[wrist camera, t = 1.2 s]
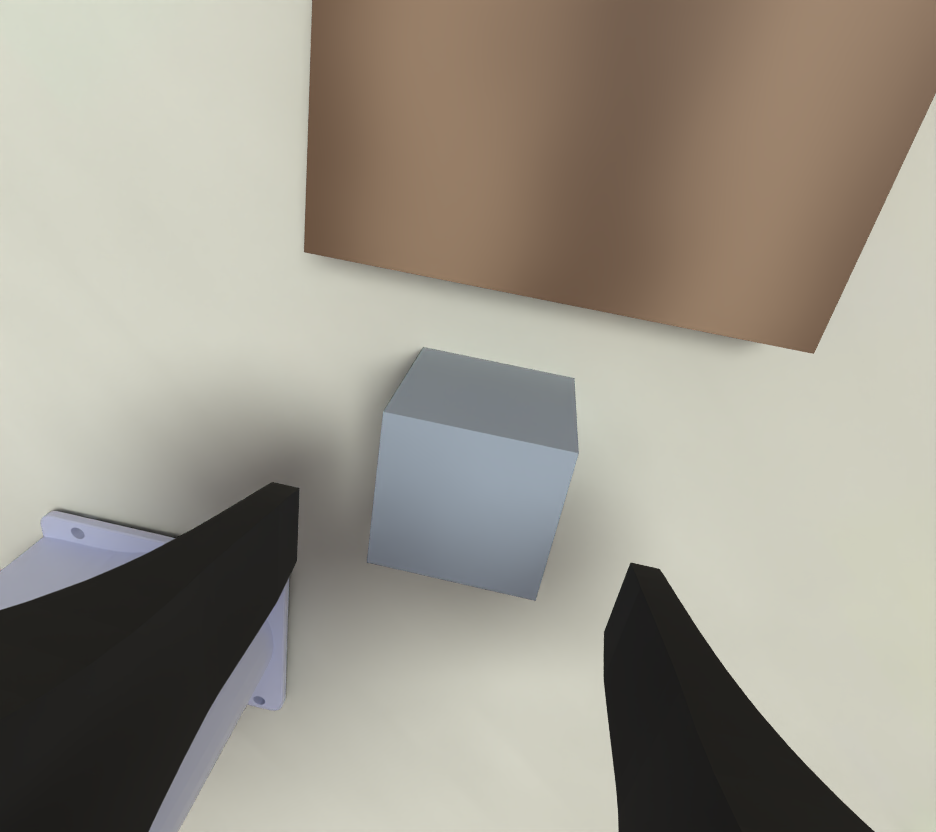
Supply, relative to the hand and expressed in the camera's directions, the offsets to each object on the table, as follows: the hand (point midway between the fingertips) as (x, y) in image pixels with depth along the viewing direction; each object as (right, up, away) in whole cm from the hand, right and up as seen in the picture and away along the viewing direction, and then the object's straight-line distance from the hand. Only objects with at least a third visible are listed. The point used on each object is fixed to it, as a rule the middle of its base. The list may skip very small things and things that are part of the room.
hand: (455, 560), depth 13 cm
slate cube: (+1, +3, +6) cm, 6 cm away
